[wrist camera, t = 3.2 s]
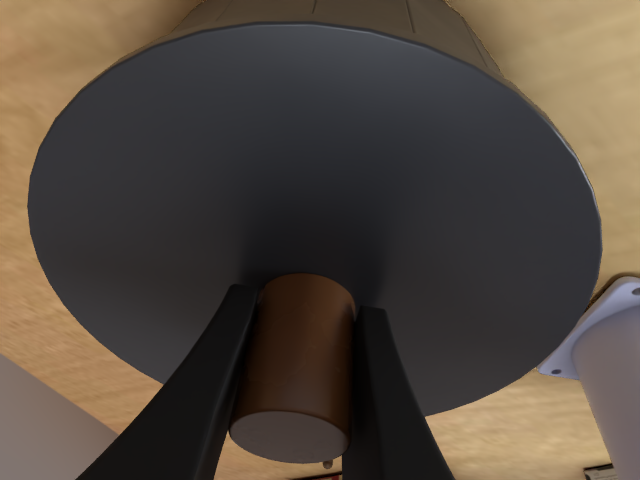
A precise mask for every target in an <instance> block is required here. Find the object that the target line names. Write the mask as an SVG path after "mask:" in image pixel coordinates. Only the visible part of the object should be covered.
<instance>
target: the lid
mask: <svg viewBox="0 0 640 480" xmlns="http://www.w3.org/2000/svg"><path fill="white" fill-rule="evenodd" d="M27 208H28V217H29V226H30V234H31V237H32V241H33V244H34V248H35V251H36V254H37V258H38V260H39V262H40V264H41V267H42V269H43V271H44V273H45V275H46V277H47V279H48V281H49V283H50V285H51V286H52V288H53V289H54V291H55V292H56V294H57V295H58V297H59V298H60V300H61V301H62V303H63V304H64V306H65V307H66V308H67V309H68V310H69V311H70V313H71V314H72V315H73V316H74V317H75V318H76V320H77V321H78V322H79V323H80V324H81V325H82V326H83V327H84V328H85V329H86V330H87V331H88V332H89V333H90V334H91V335H92V336H93V337H94V338H95V339H96V340H98V341H99V342H100V343H101V344H102V345H104V346H105V347H106V348H107V349H109V350H110V351H111V352H113V353H114V354H115V355H116V356H118V357H119V358H120V359H122V360H123V361H125V362H127V363H128V364H130V365H131V366H133V367H134V368H136V369H137V370H139V371H140V372H142V373H144V374H146V375H147V376H149V377H151V378H153V379H155V380H156V381H158V382H160V383H162V384H165V383H166V382H167V380H168V379H169V378H170V376H171V375H172V374H173V373H174V371H175V370H176V369H177V368H178V366H179V365H180V364H181V363H182V361H183V360H184V359H185V357H186V356H187V354H188V353H189V352H190V350H191V349H192V347H193V346H194V344H195V343H196V342H197V340H198V339H199V337H200V336H201V334H202V333H203V332H204V330H205V329H206V327H207V325H208V324H209V322H210V321H211V319H212V318H213V316H214V314H215V313H216V311H217V309H218V308H219V306H220V304H221V302H222V300H223V299H224V297H225V295H226V293H227V291H228V289H229V286H231V285H233V284H240V285H246V286H252V287H258V288H259V289H258V298H257V307H256V311H255V315H254V320H253V324H252V328H251V333H250V337H249V341H248V344H247V348H246V352H245V356H244V360H243V365H242V369H241V373H240V377H239V382H238V386H237V390H236V394H235V399H234V403H233V407H232V412H231V416H230V420H229V424H228V431H229V435H230V437H231V439H232V440H233V441H234V442H235V443H236V444H237V445H238V446H240V447H241V448H243V449H244V450H246V451H248V452H250V453H252V454H255V455H257V456H260V457H263V458H266V459H270V460H274V461H280V462H287V463H302V464H304V463H318V462H324V461H329V460H332V459H335V458H337V457H339V456H341V455H343V454H344V453H345V452H346V451H347V450H348V449H349V447H350V445H351V442H352V410H353V372H354V334H355V320H356V317H357V315H358V312H359V309H360V306H361V305H364V306H370V307H375V308H381V309H385V310H386V311H387V313H388V317H389V320H390V324H391V328H392V331H393V334H394V338H395V341H396V344H397V347H398V350H399V353H400V356H401V359H402V362H403V365H404V367H405V370H406V373H407V376H408V378H409V381H410V383H411V386H412V388H413V391H414V393H415V396H416V399H417V401H418V403H419V406H420V408H421V410H422V413H423V415H424V417H425V416H430V415H433V414H437V413H441V412H445V411H448V410H452V409H455V408H457V407H460V406H463V405H466V404H469V403H472V402H474V401H477V400H479V399H481V398H483V397H486V396H488V395H490V394H492V393H494V392H497V391H499V390H500V389H502V388H504V387H506V386H507V385H509V384H511V383H513V382H514V381H516V380H518V379H520V378H521V377H522V376H524V375H525V374H527V373H528V372H529V371H531V370H532V369H534V368H535V367H536V366H538V365H539V364H540V363H541V362H543V361H544V360H545V359H546V358H547V357H548V356H549V355H550V354H551V353H552V352H553V351H554V350H556V349H557V348H558V347H559V346H560V344H561V343H562V342H563V341H564V340H565V338H566V337H567V336H568V335H569V334H570V332H571V331H572V330H573V329H574V328H575V326H576V324H577V323H578V321H579V319H580V318H581V316H582V314H583V313H584V311H585V309H586V307H587V306H588V304H589V301H590V299H591V296H592V293H593V291H594V288H595V285H596V283H597V280H598V275H599V269H600V263H601V256H602V229H601V217H600V214H599V210H598V206H597V202H596V198H595V195H594V191H593V187H592V185H591V183H590V181H589V179H588V178H587V176H586V174H585V172H584V170H583V168H582V166H581V164H580V162H579V160H578V158H577V156H576V154H575V152H574V151H573V149H572V148H571V146H570V145H569V143H568V142H567V141H566V140H565V138H564V137H563V136H562V134H561V133H560V132H559V130H558V129H557V128H556V127H555V125H554V124H553V123H552V121H551V120H550V119H549V117H548V116H547V115H546V114H545V113H544V112H543V111H542V110H541V109H540V108H539V107H538V106H537V105H536V104H534V103H533V102H532V101H531V100H530V99H529V98H528V97H527V96H526V95H525V94H523V93H522V92H521V91H520V90H519V89H518V88H517V87H516V86H515V85H513V84H512V83H511V82H509V81H508V80H506V79H505V78H503V77H502V76H500V75H498V74H497V73H495V72H494V71H492V70H491V69H489V68H488V67H486V66H484V65H483V64H481V63H480V62H478V61H477V60H475V59H474V58H472V57H470V56H468V55H466V54H463V53H461V52H459V51H457V50H454V49H452V48H450V47H448V46H445V45H443V44H441V43H439V42H436V41H434V40H432V39H430V38H427V37H425V36H423V35H419V34H416V33H412V32H409V31H405V30H401V29H398V28H394V27H391V26H387V25H384V24H380V23H376V22H373V21H368V20H360V19H353V18H345V17H338V16H330V15H323V14H257V15H251V16H245V17H238V18H232V19H225V20H219V21H213V22H207V23H204V24H201V25H198V26H195V27H192V28H188V29H185V30H182V31H179V32H176V33H173V34H170V35H166V36H163V37H161V38H159V39H157V40H155V41H153V42H151V43H149V44H147V45H145V46H143V47H141V48H139V49H137V50H135V51H133V52H131V53H129V54H127V55H126V56H124V57H122V58H120V59H119V60H118V61H116V62H115V63H114V64H112V65H111V66H110V67H108V68H107V69H106V70H105V71H103V72H102V73H101V74H99V75H98V76H97V77H95V78H94V79H93V80H91V81H90V82H89V83H88V84H87V85H86V86H84V87H83V88H82V89H81V90H80V91H79V92H78V93H77V94H76V96H75V97H74V98H73V99H72V100H71V101H70V102H69V103H68V105H67V106H66V107H65V108H64V109H63V110H62V111H61V113H60V114H59V115H58V116H57V117H56V118H55V120H54V122H53V124H52V125H51V127H50V129H49V131H48V132H47V134H46V136H45V138H44V139H43V141H42V143H41V145H40V147H39V149H38V152H37V156H36V159H35V162H34V165H33V169H32V172H31V175H30V182H29V193H28V205H27Z"/></svg>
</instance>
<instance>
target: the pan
mask: <svg viewBox="0 0 640 480" xmlns="http://www.w3.org/2000/svg"><path fill="white" fill-rule="evenodd" d="M257 14H323V15H330V16H338V17H345V18H353V19H360V20H368V21H373V22H376V23H380V24H384V25H387V26H391V27H394V28H398V29H401V30H405V31H409V32H412V33H416V34H419V35H423V36H425V37H427V38H430V39H432V40H434V41H436V42H439V43H441V44H443V45H445V46H448V47H450V48H452V49H454V50H457V51H459V52H461V53H463V54H466V55H468V56H470V57H472V58H474V59H475V60H477V61H478V62H480V63H481V64H483V65H484V66H486V67H488V68H489V69H491V70H492V71H494V72H495V73H497V74H498V75H500V76H502V77H503V75H502V73H501V72H500V70H499V68H498V66H497V65H496V63H495V62H494V61H493V59H492V58H491V56H490V55H489V54H488V52H487V51H486V49H485V48H484V47H483V45H482V43H481V41H480V40H479V39H478V37H477V36H476V35H475V33H474V32H473V31H472V30H471V28H470V27H469V25H468V24H467V23H466V21H465V20H464V18H463V17H461V16H460V14H458V13H457V12H455V11H454V10H453V9H451V8H450V7H449V6H448V5H447V4H446V3H445V2H444V1H442V0H206V1H205V2H203V3H201V4H200V5H198V6H197V7H196V8H194V9H193V10H192V11H191V12H190V14H189V15H188V16H187V17H186V18H185V19H184V20H183V21H182V22H181V23H180V24H179V25H178V26H177V27H176V28H175V29H174V30H173V31H172V32H171V33H170V34H173V33H176V32H179V31H182V30H185V29H188V28H192V27H195V26H198V25H201V24H204V23H207V22H213V21H219V20H225V19H232V18H238V17H245V16H251V15H257ZM170 34H169V35H170ZM503 78H504V77H503Z"/></svg>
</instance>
